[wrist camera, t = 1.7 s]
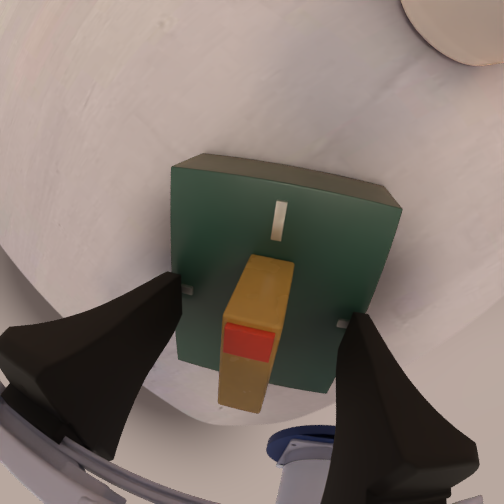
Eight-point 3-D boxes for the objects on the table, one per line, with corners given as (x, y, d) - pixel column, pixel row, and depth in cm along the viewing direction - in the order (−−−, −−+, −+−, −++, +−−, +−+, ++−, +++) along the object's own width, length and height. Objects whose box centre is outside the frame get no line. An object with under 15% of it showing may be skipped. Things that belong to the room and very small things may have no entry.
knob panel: (334, 354, 16) (333, 397, 13) (190, 322, 17) (169, 359, 14) (393, 188, 11) (415, 213, 8) (193, 152, 12) (158, 166, 10)
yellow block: (274, 350, 12) (258, 420, 9) (239, 342, 13) (215, 409, 9) (295, 261, 10) (281, 334, 7) (250, 252, 10) (219, 320, 7)
